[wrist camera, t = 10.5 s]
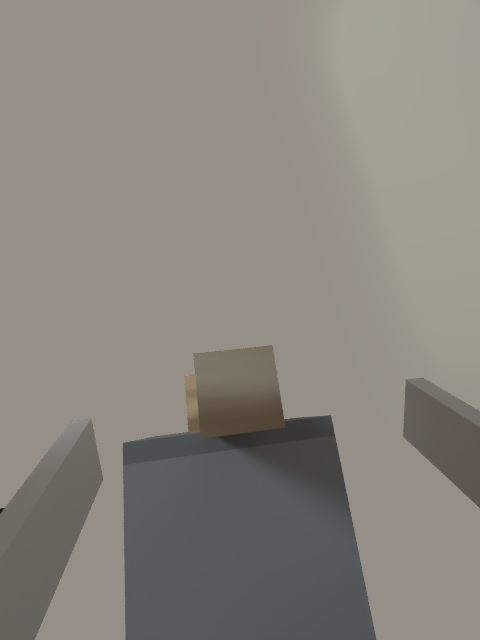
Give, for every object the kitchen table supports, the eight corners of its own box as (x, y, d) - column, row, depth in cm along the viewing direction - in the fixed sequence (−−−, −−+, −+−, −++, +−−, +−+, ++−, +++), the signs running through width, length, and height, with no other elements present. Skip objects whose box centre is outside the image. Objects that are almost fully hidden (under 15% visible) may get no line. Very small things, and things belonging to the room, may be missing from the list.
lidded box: (129, 1217, 14) (120, 443, 24) (168, 853, 26) (152, 436, 35) (470, 1086, 16) (333, 414, 25) (360, 801, 28) (295, 417, 37)
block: (325, 421, 13) (304, 310, 15) (156, 444, 13) (151, 324, 14) (257, 422, 35) (251, 377, 37) (193, 431, 34) (190, 384, 36)
